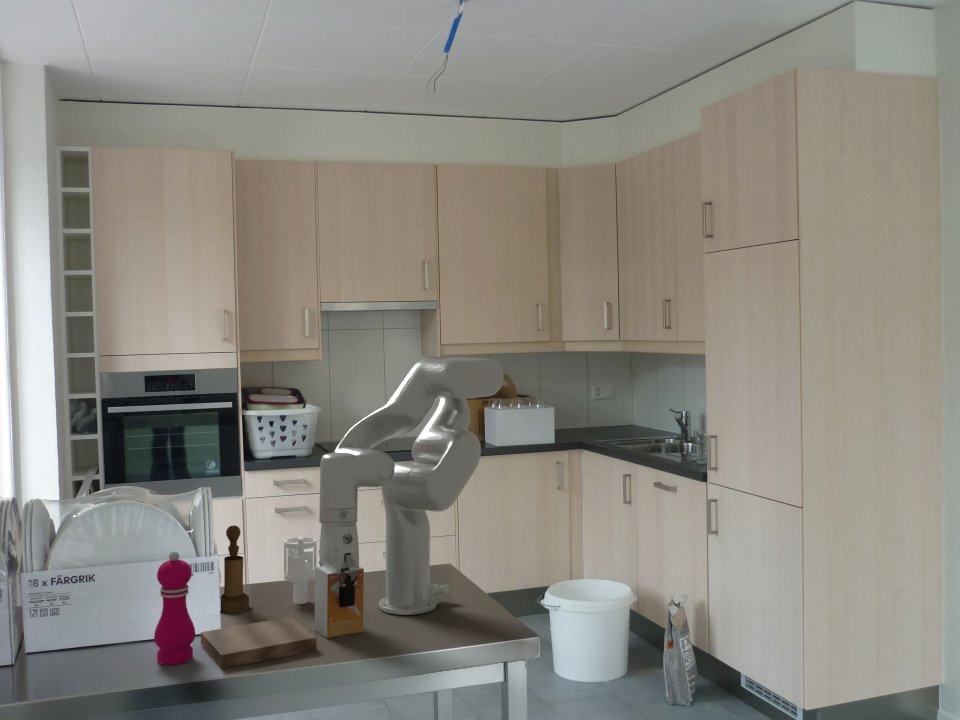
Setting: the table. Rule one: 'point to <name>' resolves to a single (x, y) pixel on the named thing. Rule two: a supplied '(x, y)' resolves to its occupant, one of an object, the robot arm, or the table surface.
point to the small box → (337, 605)
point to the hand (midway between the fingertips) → (336, 599)
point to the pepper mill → (174, 613)
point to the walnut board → (257, 642)
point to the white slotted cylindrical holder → (299, 565)
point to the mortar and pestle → (233, 577)
